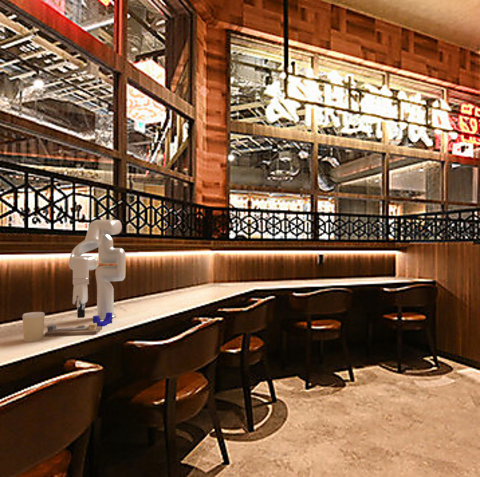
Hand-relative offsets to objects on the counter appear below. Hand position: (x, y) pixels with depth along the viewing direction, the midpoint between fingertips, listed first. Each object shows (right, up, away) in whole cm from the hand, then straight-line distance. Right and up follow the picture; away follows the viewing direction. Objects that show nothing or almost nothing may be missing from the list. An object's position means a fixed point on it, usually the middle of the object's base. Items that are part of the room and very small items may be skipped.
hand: (81, 317), depth 187 cm
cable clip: (+5, -8, +17) cm, 20 cm away
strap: (-4, -6, -1) cm, 7 cm away
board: (-3, -7, -1) cm, 8 cm away
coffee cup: (-16, -7, -14) cm, 23 cm away
